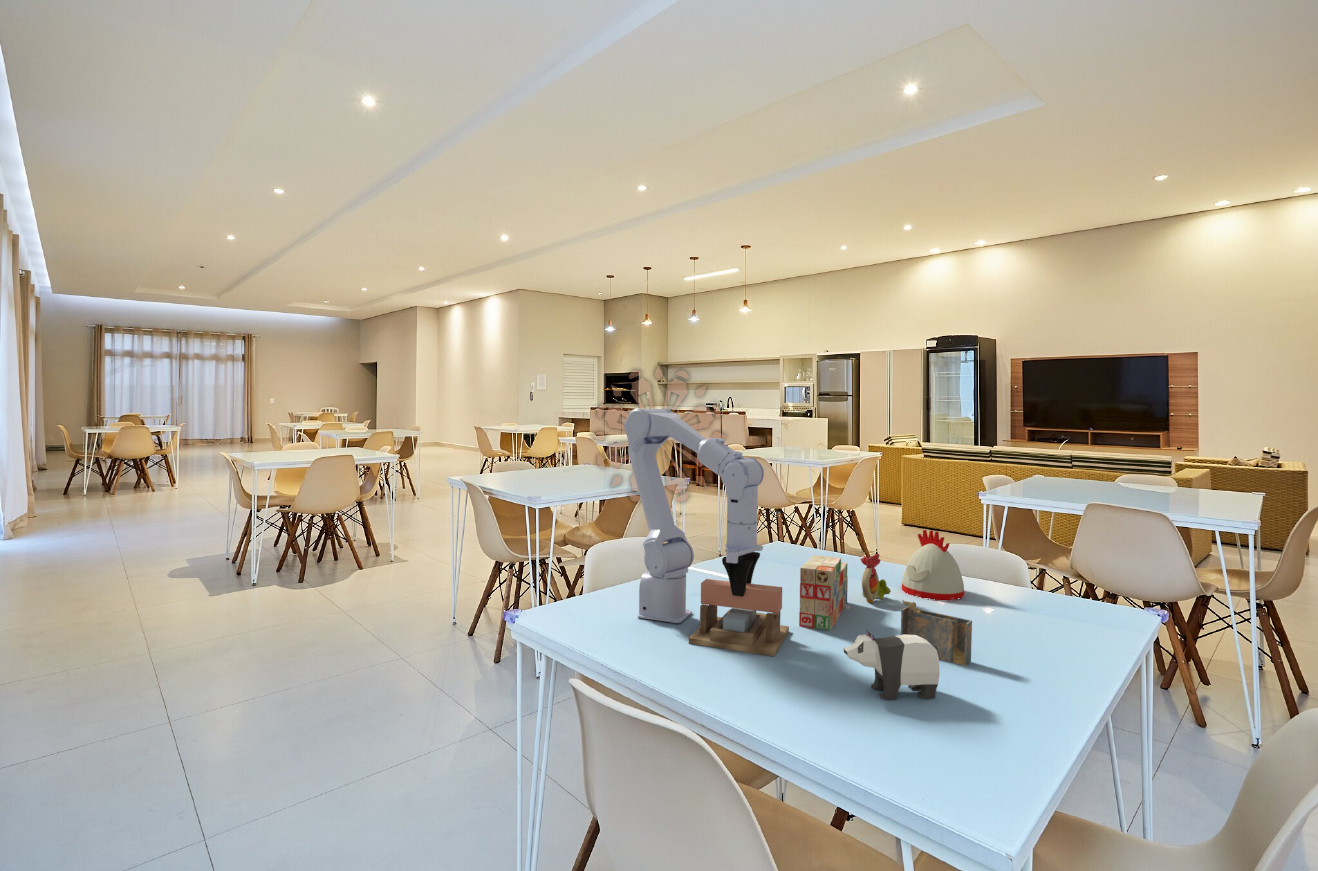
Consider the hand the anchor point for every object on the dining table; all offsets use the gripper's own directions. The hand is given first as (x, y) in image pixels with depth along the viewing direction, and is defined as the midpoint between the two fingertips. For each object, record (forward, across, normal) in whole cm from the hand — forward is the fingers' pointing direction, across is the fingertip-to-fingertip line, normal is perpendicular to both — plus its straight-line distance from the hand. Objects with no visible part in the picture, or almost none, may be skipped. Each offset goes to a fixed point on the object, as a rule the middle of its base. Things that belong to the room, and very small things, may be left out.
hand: (740, 592), depth 121 cm
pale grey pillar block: (+8, 0, 0) cm, 8 cm away
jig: (+9, 0, 0) cm, 9 cm away
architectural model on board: (+9, +5, -34) cm, 36 cm away
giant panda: (+9, -14, -28) cm, 33 cm away
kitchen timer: (+9, +49, -35) cm, 61 cm away
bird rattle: (+9, +36, -22) cm, 43 cm away
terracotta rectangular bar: (+2, 0, 0) cm, 2 cm away
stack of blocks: (+9, +21, -13) cm, 27 cm away
